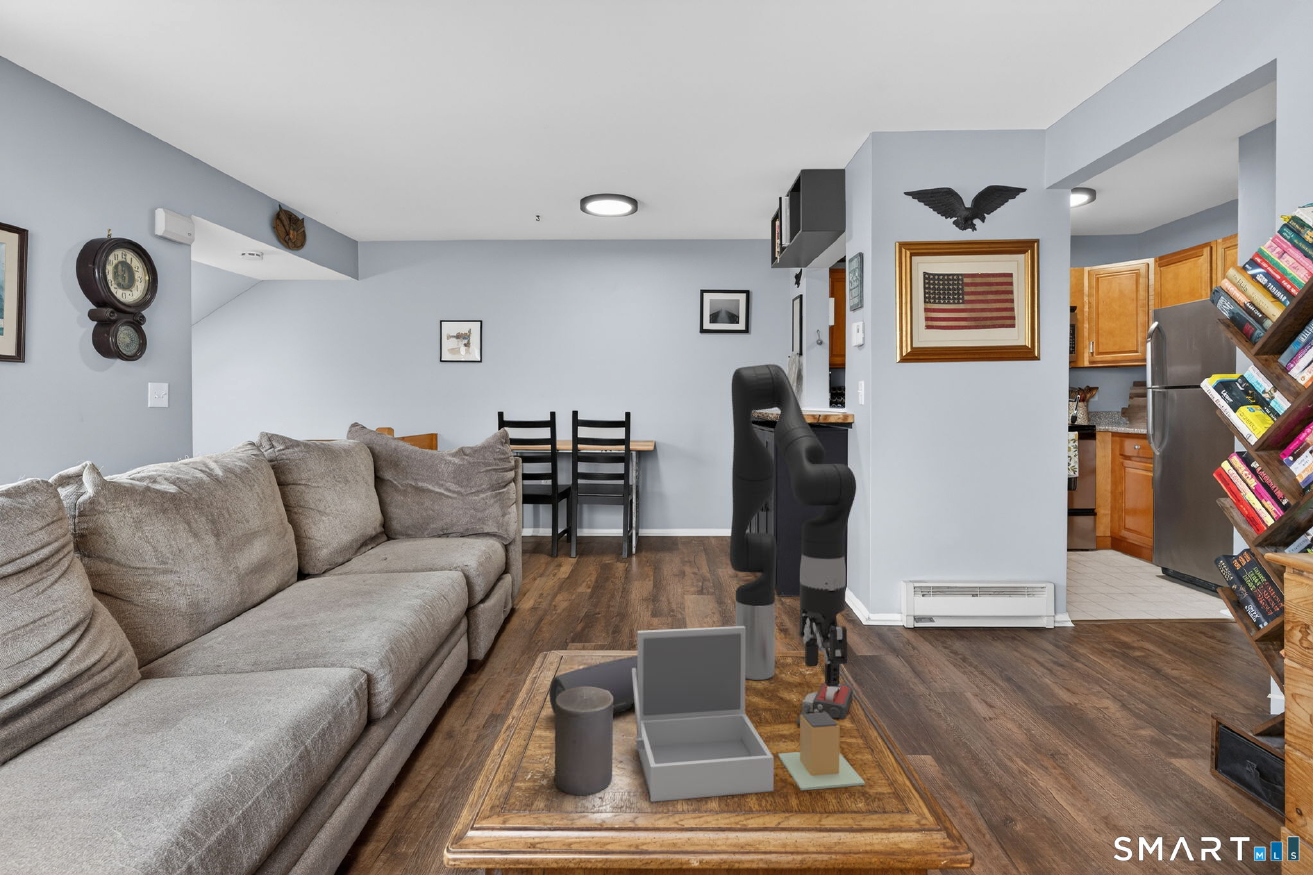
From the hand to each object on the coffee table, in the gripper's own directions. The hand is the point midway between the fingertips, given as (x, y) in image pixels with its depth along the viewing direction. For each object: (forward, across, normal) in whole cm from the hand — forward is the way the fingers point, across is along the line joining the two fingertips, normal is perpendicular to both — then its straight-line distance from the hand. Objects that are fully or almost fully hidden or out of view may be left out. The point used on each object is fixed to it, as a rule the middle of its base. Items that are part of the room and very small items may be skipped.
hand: (821, 675), depth 111 cm
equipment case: (+16, -4, -21) cm, 27 cm away
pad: (+16, 0, 0) cm, 16 cm away
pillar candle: (+16, -3, -40) cm, 44 cm away
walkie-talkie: (+17, -21, +10) cm, 29 cm away
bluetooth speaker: (+17, -28, -34) cm, 47 cm away
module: (+16, 0, 0) cm, 16 cm away
